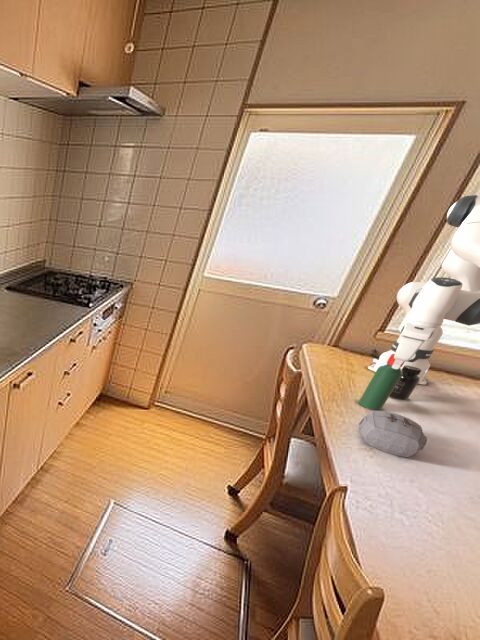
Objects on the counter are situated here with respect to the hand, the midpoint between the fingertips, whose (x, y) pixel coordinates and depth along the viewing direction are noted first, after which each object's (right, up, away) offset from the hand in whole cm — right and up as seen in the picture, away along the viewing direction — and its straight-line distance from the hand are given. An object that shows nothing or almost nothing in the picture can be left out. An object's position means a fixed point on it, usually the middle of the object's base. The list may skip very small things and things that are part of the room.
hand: (395, 366), depth 144 cm
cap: (0, +1, 0) cm, 1 cm away
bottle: (-2, -14, +7) cm, 16 cm away
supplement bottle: (+17, -11, +17) cm, 26 cm away
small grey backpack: (-17, -24, -13) cm, 32 cm away
